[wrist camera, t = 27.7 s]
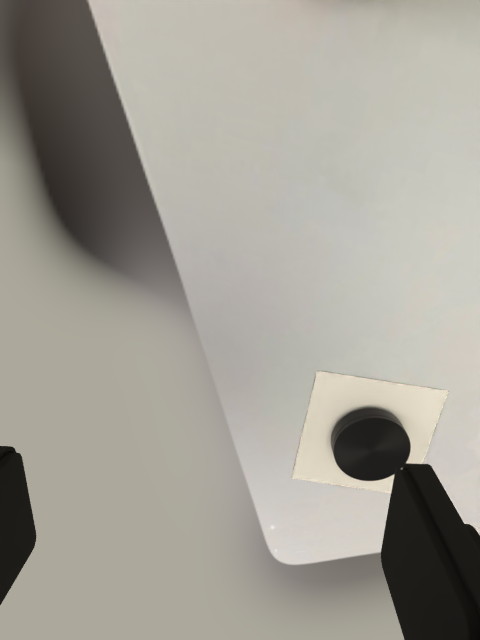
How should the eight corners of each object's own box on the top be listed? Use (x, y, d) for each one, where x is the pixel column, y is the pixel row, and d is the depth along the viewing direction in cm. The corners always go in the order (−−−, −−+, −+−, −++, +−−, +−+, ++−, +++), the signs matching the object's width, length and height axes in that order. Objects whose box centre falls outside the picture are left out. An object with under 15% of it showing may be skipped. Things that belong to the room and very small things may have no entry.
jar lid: (419, 445, 40) (426, 456, 38) (358, 481, 42) (362, 493, 40) (377, 393, 38) (383, 403, 37) (315, 433, 40) (318, 444, 38)
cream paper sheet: (291, 478, 42) (292, 488, 41) (317, 370, 38) (319, 378, 37) (410, 496, 43) (415, 507, 41) (448, 391, 38) (455, 399, 37)
